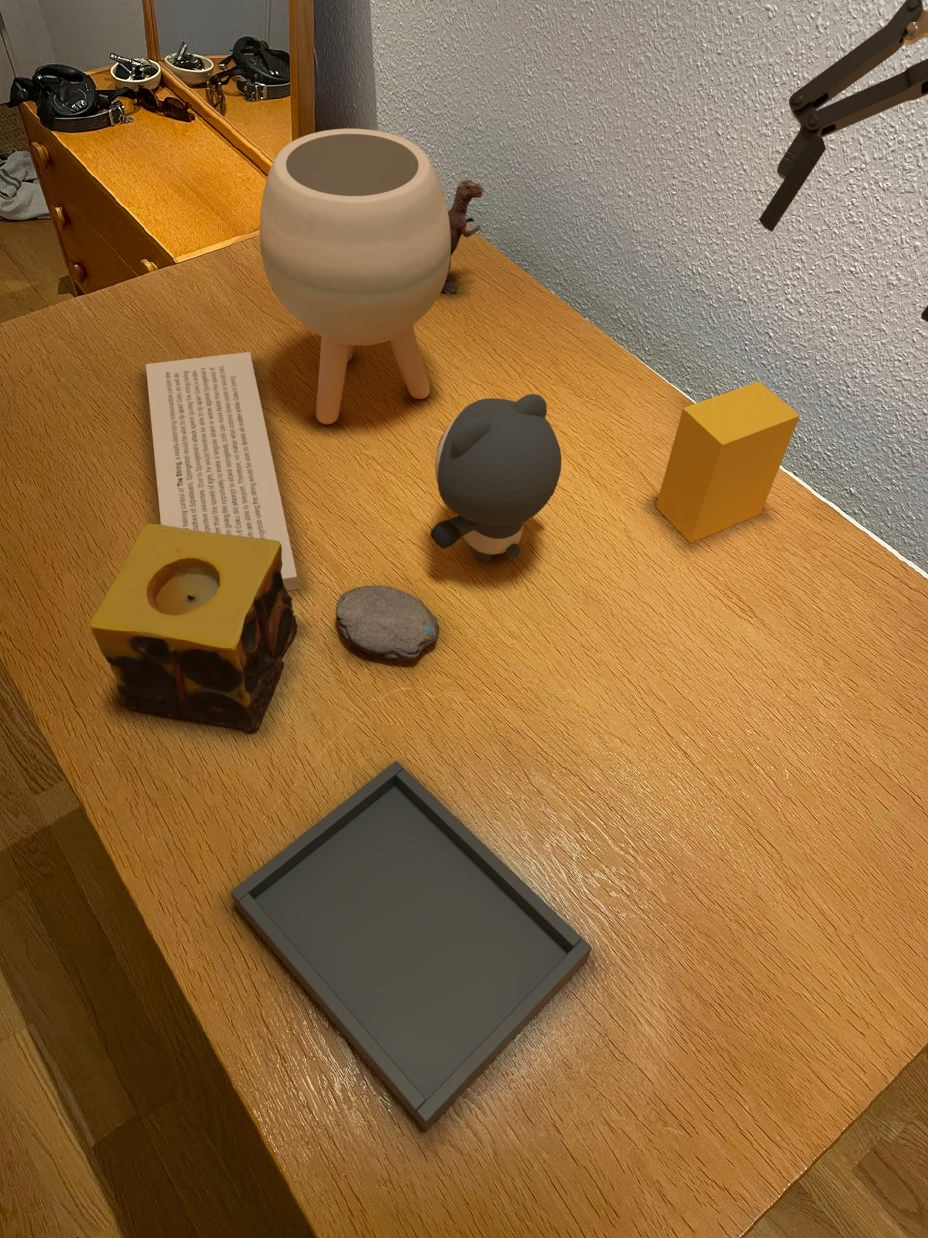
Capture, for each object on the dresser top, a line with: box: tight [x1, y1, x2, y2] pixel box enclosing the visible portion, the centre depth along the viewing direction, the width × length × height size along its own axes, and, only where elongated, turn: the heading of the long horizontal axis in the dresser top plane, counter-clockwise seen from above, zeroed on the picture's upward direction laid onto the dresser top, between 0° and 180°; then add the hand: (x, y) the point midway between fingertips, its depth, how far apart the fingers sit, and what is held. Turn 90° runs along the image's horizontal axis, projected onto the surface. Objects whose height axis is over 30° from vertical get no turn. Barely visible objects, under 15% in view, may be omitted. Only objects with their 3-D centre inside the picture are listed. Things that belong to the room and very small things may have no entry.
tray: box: [230, 760, 593, 1132], centre depth 58 cm, size 18×14×2 cm
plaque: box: [145, 351, 300, 592], centre depth 84 cm, size 30×2×10 cm
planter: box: [259, 128, 451, 425], centre depth 84 cm, size 16×16×22 cm
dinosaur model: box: [441, 179, 485, 295], centre depth 100 cm, size 4×12×15 cm
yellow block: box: [655, 381, 801, 544], centre depth 80 cm, size 5×8×11 cm, turn 119°
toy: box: [429, 393, 562, 563], centre depth 74 cm, size 12×10×15 cm
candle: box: [90, 522, 298, 732], centre depth 67 cm, size 10×10×10 cm
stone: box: [335, 584, 440, 663], centre depth 73 cm, size 7×8×2 cm
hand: (843, 271), depth 69 cm, fingers open, 13 cm apart
